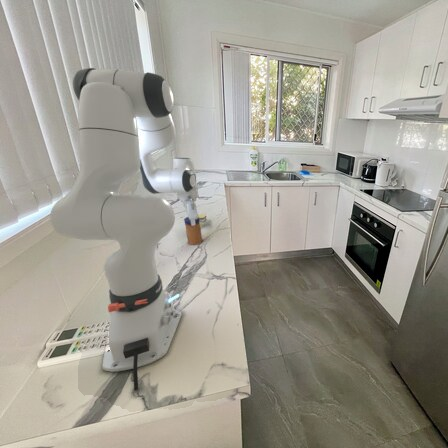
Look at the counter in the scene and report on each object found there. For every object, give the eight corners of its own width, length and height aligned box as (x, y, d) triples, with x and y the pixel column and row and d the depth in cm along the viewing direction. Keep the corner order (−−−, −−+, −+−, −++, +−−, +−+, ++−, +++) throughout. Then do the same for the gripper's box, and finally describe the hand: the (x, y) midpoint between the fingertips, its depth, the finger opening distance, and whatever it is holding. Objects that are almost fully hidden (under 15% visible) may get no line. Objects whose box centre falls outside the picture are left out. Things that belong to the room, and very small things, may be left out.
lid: (201, 219, 119) (200, 215, 118) (198, 224, 113) (197, 220, 112) (186, 219, 118) (186, 216, 117) (183, 225, 112) (182, 221, 111)
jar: (202, 243, 118) (199, 221, 113) (187, 245, 116) (184, 223, 111) (202, 238, 123) (199, 216, 119) (188, 239, 121) (185, 218, 117)
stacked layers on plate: (210, 227, 136) (209, 218, 134) (193, 229, 133) (192, 219, 131) (209, 220, 144) (208, 212, 142) (193, 222, 141) (192, 213, 139)
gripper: (199, 199, 103) (202, 228, 109) (192, 187, 120) (195, 214, 125) (182, 201, 100) (187, 231, 106) (178, 189, 117) (182, 215, 122)
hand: (192, 221), depth 116 cm, fingers closed on lid, 6 cm apart
